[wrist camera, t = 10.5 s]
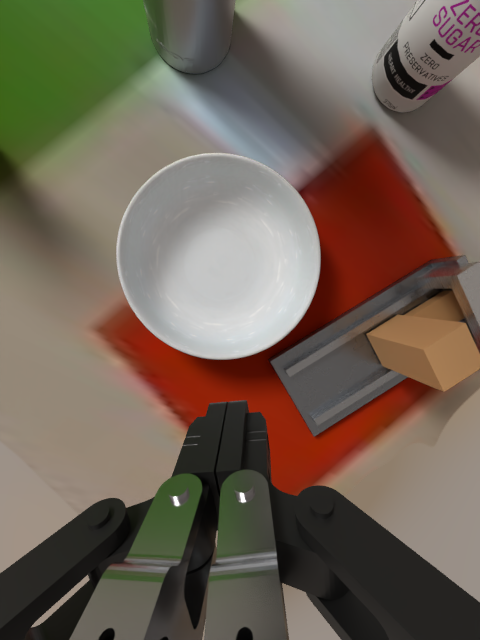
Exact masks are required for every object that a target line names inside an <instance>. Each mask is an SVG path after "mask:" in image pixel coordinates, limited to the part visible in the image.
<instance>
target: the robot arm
mask: <svg viewBox="0 0 480 640" xmlns="http://www.w3.org/2000/svg"><path fill="white" fill-rule="evenodd" d="M235 1H236V0H143V2H144V7H145V12H146V16H147V21H148V26H149V30H150V35H151V39H152V42H153V44H154V46H155V48H156V50H157V52H158V53H159V54H160V56H161V57H162V58H163V59H164V60H165V61H166V62H167V63H168V64H169V65H171V66H172V67H174V68H175V69H177V70H180V71H182V72H186V73H191V74H197V73H204V72H207V71H210V70H212V69H213V68H215V67H217V66H218V65H219V64H220V63H221V62H222V61H223V59H224V58H225V56H226V55H227V52H228V50H229V47H230V43H231V36H232V27H233V18H234V9H235ZM217 530H218V540H217V547H216V543H215V538H216V531H217ZM87 575H88V576H89V579H90V580H89V581H88V582H87V583H86V584H85V585H84V586H83V587H82V588H80V589H79V590H78V591H77V592H76V593H75V594H74V595H73V596H72V597H71V598H70V599H69V600H67V601H66V602H65V603H64V604H63V605H62V606H61V607H60V608H59V609H57V611H55V612H54V613H53V614H52V615H51V616H50V617H49V618H48V619H47V620H45V621H44V622H43V623H41V624H40V625H38V626H36V627H32V628H30V627H31V626H32V625H33V624H34V623H35V621H37V620H38V619H39V618H40V617H41V616H42V615H43V614H44V613H45V612H46V611H47V610H49V609H50V608H51V607H52V606H53V605H54V604H55V603H56V602H58V601H59V600H60V599H61V598H62V597H63V596H64V595H65V594H67V593H68V592H69V591H70V590H71V589H72V588H73V587H74V586H75V585H76V584H77V583H79V582H80V581H81V580H82V579H83V578H84V577H85V576H87ZM282 583H284V584H286V585H289V586H292V587H294V588H297V589H300V590H302V591H304V592H306V594H307V596H308V597H309V599H310V600H311V602H312V603H313V604H314V606H315V607H316V608H317V609H318V611H319V612H320V613H321V614H322V616H323V617H324V618H325V619H326V621H327V622H328V623H329V624H330V626H331V627H332V628H333V629H334V631H335V632H336V633H337V634H338V636H339V637H340V638H341V639H342V640H480V602H478V601H477V600H476V599H475V598H473V597H472V596H471V595H469V594H468V593H467V592H466V591H464V590H463V589H462V588H460V587H459V586H458V585H457V584H455V583H454V582H452V581H451V580H450V579H449V578H448V577H446V576H445V575H444V574H443V573H441V572H440V571H439V570H437V569H436V568H435V567H434V566H432V565H431V564H430V563H428V562H427V561H426V560H424V559H423V558H422V557H420V555H418V554H417V553H416V552H414V551H413V550H412V549H410V548H409V547H408V546H407V545H405V544H404V543H403V542H401V541H400V540H399V539H398V538H396V537H395V536H394V535H393V534H391V533H390V532H389V531H387V530H386V529H385V528H384V527H382V526H381V525H380V524H378V523H377V522H376V521H374V520H373V519H372V518H371V517H370V516H368V515H367V514H366V513H364V512H363V511H362V510H360V509H359V508H358V507H357V506H355V505H354V504H353V503H351V502H350V501H349V500H348V499H346V498H345V497H344V496H343V495H341V494H340V493H339V492H337V491H336V490H334V489H332V488H329V487H326V486H312V487H308V488H306V489H304V490H303V491H302V492H301V493H300V494H299V495H298V496H294V495H290V494H287V493H284V492H282V491H280V490H278V489H277V488H276V487H274V486H273V485H272V483H271V464H270V448H269V441H268V434H267V426H266V420H265V418H264V417H263V416H262V414H261V413H260V412H255V413H249V410H248V404H247V401H246V400H244V401H233V402H220V403H210V404H209V407H208V410H207V414H206V417H197V418H196V419H195V420H194V422H193V423H192V424H191V425H190V426H189V429H188V432H187V435H186V438H185V440H184V443H183V446H182V449H181V452H180V455H179V457H178V460H177V463H176V466H175V469H174V472H173V475H172V477H171V478H170V479H168V480H167V481H166V482H164V483H163V484H162V485H161V487H160V488H159V489H158V491H157V493H156V495H155V497H154V498H152V499H150V500H147V501H145V502H142V503H139V504H136V505H134V506H131V507H128V508H126V507H125V504H124V503H123V501H121V500H120V499H117V498H108V499H104V500H101V501H99V502H97V503H95V504H93V505H92V506H90V507H89V508H88V509H86V510H85V511H84V512H82V513H81V514H80V515H78V516H77V517H76V518H74V519H73V520H72V521H70V522H69V523H68V524H66V525H65V526H64V527H62V528H61V529H60V530H58V531H57V532H55V533H54V534H53V535H51V536H50V537H49V538H48V539H46V540H45V541H43V542H42V543H41V544H39V545H38V546H37V547H35V548H34V549H33V550H31V551H30V552H29V553H27V554H26V555H25V556H23V557H22V558H20V559H19V560H18V561H16V562H15V563H14V564H12V565H11V566H10V567H9V568H7V569H6V570H4V571H3V572H2V573H0V640H202V637H203V630H204V625H205V636H204V640H289V636H288V635H289V634H288V627H287V619H286V611H285V604H284V596H283V588H282ZM205 620H206V623H205Z"/></svg>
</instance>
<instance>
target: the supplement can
mask: <svg viewBox="0 0 480 640" xmlns="http://www.w3.org/2000/svg"><path fill="white" fill-rule="evenodd" d="M479 56H480V0H417V2H416V3H415V4H414V6H413V7H412V8H411V10H410V11H409V13H408V14H407V15H406V17H405V18H404V19H403V21H402V22H401V23H400V25H399V26H398V28H397V29H396V30H395V32H394V33H393V34H392V36H391V37H390V38H389V40H388V41H387V42H386V44H385V45H384V47H383V48H382V49H381V51H380V52H379V53H378V55H377V57H376V59H375V62H374V64H373V68H372V82H373V87H374V91H375V93H376V95H377V97H378V98H379V100H380V102H381V103H383V104H384V105H385V106H386V107H388V108H389V109H391V110H394V111H397V112H400V113H401V112H411V111H413V110H415V109H417V108H419V107H421V106H422V105H423V104H424V103H425V102H426V101H428V100H429V99H430V98H431V97H432V96H434V95H435V94H436V93H437V92H438V91H439V90H441V89H442V88H443V87H444V86H445V85H446V84H448V83H449V82H450V81H451V80H452V79H454V78H455V77H456V76H457V75H458V74H459V73H461V72H462V71H463V70H464V69H465V68H466V67H468V66H469V65H470V64H471V63H472V62H474V61H475V60H476V59H477V58H478V57H479Z"/></svg>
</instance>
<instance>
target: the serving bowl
mask: <svg viewBox="0 0 480 640" xmlns="http://www.w3.org/2000/svg"><path fill="white" fill-rule="evenodd" d="M116 260H117V268H118V274H119V279H120V282H121V286H122V289H123V291H124V294H125V297H126V299H127V301H128V303H129V305H130V306H131V308H132V310H133V311H134V313H135V314H136V316H137V317H138V318H139V320H140V321H141V322H142V323H143V324H144V325H145V327H146V328H147V329H148V330H149V331H150V332H151V333H153V334H154V335H155V336H156V337H157V338H159V339H160V340H162V341H163V342H164V343H166V344H168V345H169V346H171V347H173V348H175V349H177V350H179V351H181V352H184V353H186V354H189V355H192V356H195V357H200V358H206V359H214V360H229V359H238V358H243V357H247V356H250V355H253V354H256V353H259V352H261V351H263V350H266V349H268V348H269V347H271V346H273V345H274V344H276V343H278V342H279V341H280V340H282V339H283V338H284V337H285V336H287V335H288V334H289V333H290V332H291V331H292V330H293V329H294V328H295V327H296V325H297V324H298V323H299V322H300V320H301V319H302V317H303V316H304V315H305V313H306V311H307V309H308V308H309V306H310V304H311V302H312V299H313V297H314V294H315V291H316V288H317V284H318V280H319V275H320V265H321V252H320V242H319V236H318V232H317V228H316V225H315V222H314V220H313V217H312V215H311V213H310V211H309V209H308V207H307V205H306V203H305V202H304V200H303V198H302V197H301V196H300V194H299V193H298V192H297V191H296V189H295V188H294V187H293V186H292V185H291V184H290V183H289V182H288V181H287V180H286V179H285V178H283V177H282V176H281V175H280V174H279V173H277V172H276V171H274V170H273V169H271V168H269V167H268V166H266V165H264V164H262V163H260V162H258V161H255V160H253V159H250V158H247V157H244V156H239V155H235V154H228V153H206V154H199V155H194V156H190V157H186V158H183V159H180V160H178V161H176V162H174V163H171V164H169V165H168V166H166V167H164V168H163V169H161V170H160V171H158V172H157V173H155V174H154V175H153V176H152V177H151V178H149V179H148V180H147V181H146V182H145V183H144V184H143V185H142V187H141V188H140V189H139V190H138V191H137V193H136V194H135V195H134V197H133V198H132V200H131V202H130V203H129V205H128V207H127V209H126V211H125V213H124V216H123V219H122V221H121V224H120V228H119V233H118V239H117V248H116Z"/></svg>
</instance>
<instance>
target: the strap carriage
mask: <svg viewBox="0 0 480 640" xmlns="http://www.w3.org/2000/svg"><path fill="white" fill-rule="evenodd" d="M463 318H465V317H464V314H463V312H462V310H461V308H460V306H459V303H458V301H457V299H456V297H455V294H454V292H453V291H442V292H440V293H439V294H437V295H435V296H434V297H432V298H431V299H429V300H427V301H426V302H424V303H423V304H421V305H419V306H418V307H416V308H414V309H413V310H411V311H410V312H408V313H406V314H405V315H396V316H395V317H393V318H391V319H390V320H388V321H387V322H385V323H383V324H382V325H380V326H379V327H377V328H375V329H374V330H372V331H370V332H369V333H367V334H366V335H367V337H368V339H369V341H370V343H371V345H372V347H373V349H374V350H375V352H376V354H377V356H378V358H379V360H380V362H381V364H382V366H384V367H386V368H388V369H391V370H393V371H395V372H398V373H400V374H402V375H405V376H407V377H410V378H412V379H414V380H417V381H419V382H421V383H424V384H426V385H428V386H431V387H433V388H436V389H438V390H440V391H443V392H445V391H446V390H448V389H450V388H451V387H453V386H454V385H456V384H457V383H459V382H460V381H462V380H464V379H465V378H467V377H468V376H470V375H471V374H473V373H474V372H476V371H478V370H479V369H480V353H479V351H478V349H477V347H476V344H475V342H474V340H473V338H472V336H471V333H470V331H469V329H468V327H467V325H466V323H462V322H459V321H460V320H462V319H463Z"/></svg>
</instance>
